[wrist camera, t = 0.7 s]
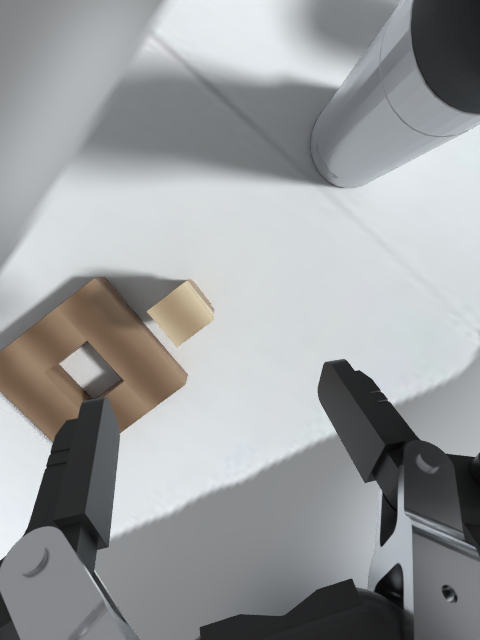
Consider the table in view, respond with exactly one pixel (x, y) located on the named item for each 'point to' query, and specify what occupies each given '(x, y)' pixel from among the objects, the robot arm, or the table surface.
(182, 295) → the oak peg
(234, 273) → the table surface
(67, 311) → the walnut board
